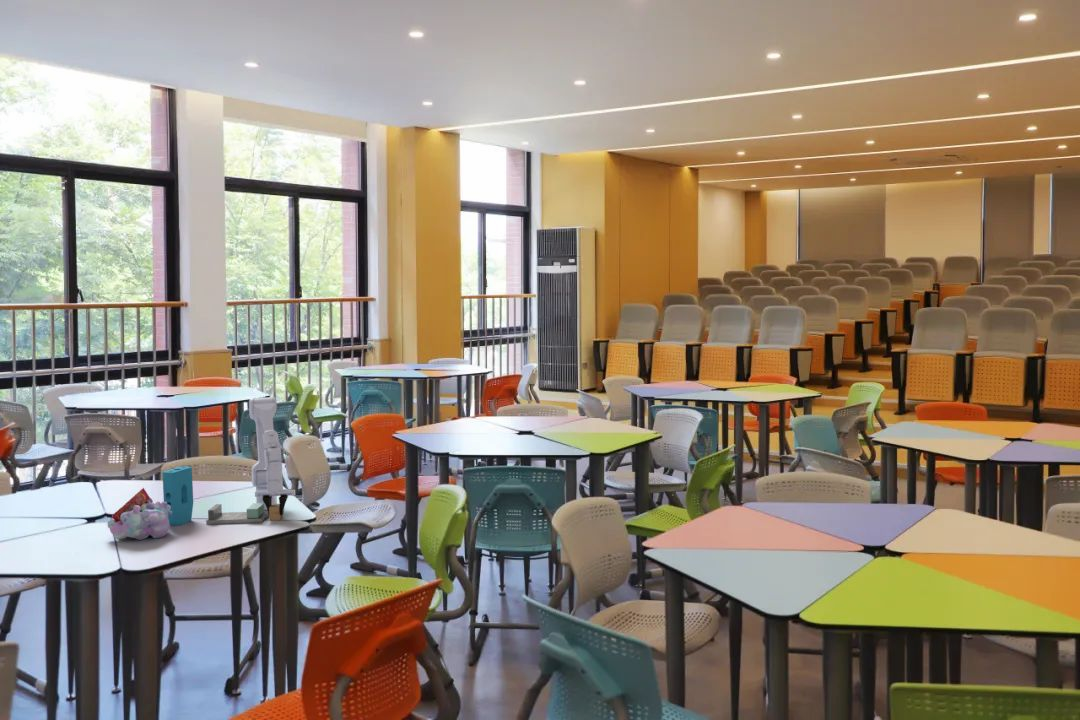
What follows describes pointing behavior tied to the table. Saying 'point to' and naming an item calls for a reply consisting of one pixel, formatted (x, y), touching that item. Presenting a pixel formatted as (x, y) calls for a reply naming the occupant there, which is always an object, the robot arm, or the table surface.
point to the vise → (231, 516)
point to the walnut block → (274, 512)
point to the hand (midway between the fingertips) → (276, 514)
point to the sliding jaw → (255, 510)
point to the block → (178, 494)
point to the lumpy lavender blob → (140, 518)
